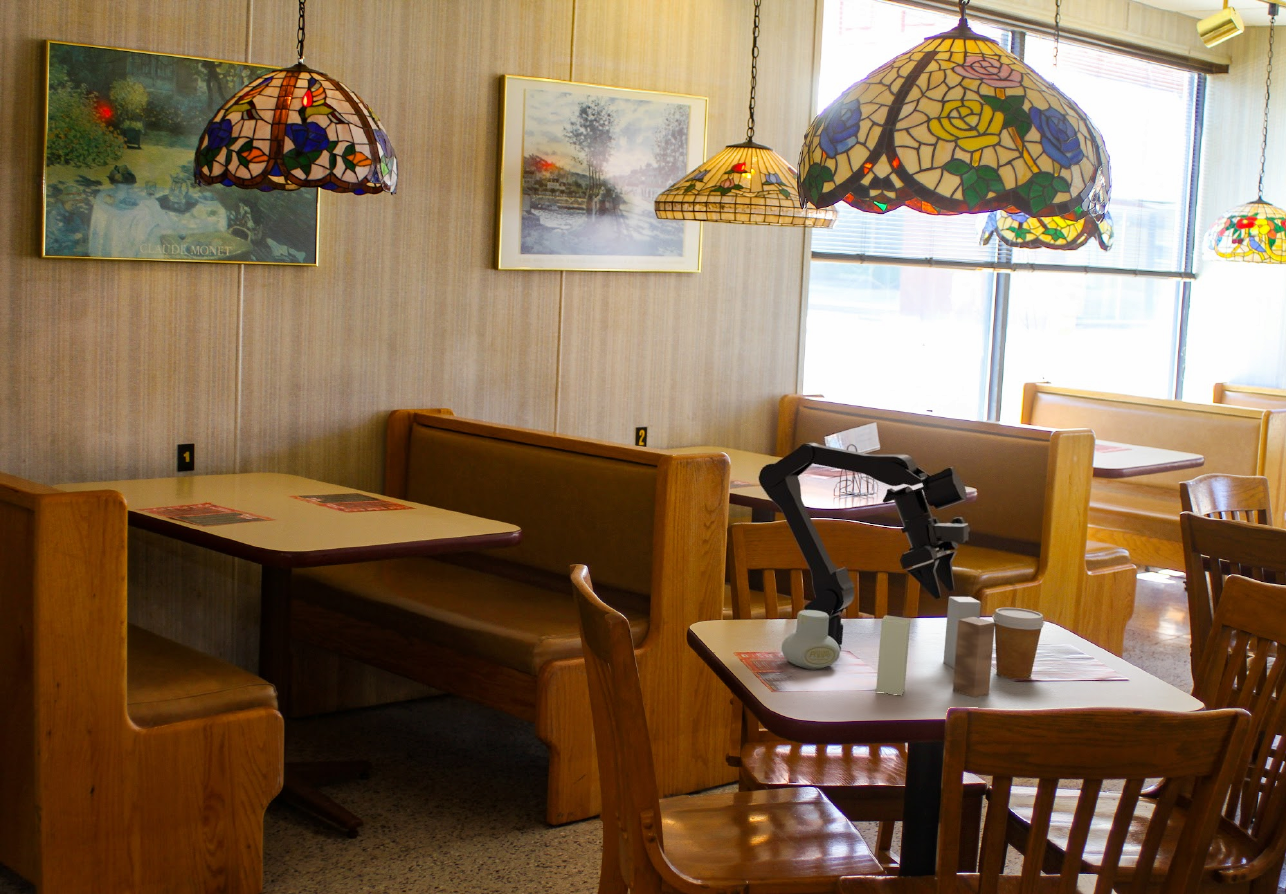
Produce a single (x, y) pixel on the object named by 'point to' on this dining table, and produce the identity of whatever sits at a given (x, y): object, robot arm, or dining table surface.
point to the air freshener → (811, 642)
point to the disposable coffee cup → (1016, 641)
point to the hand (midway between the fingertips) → (945, 594)
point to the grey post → (956, 611)
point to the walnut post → (973, 656)
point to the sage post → (893, 655)
